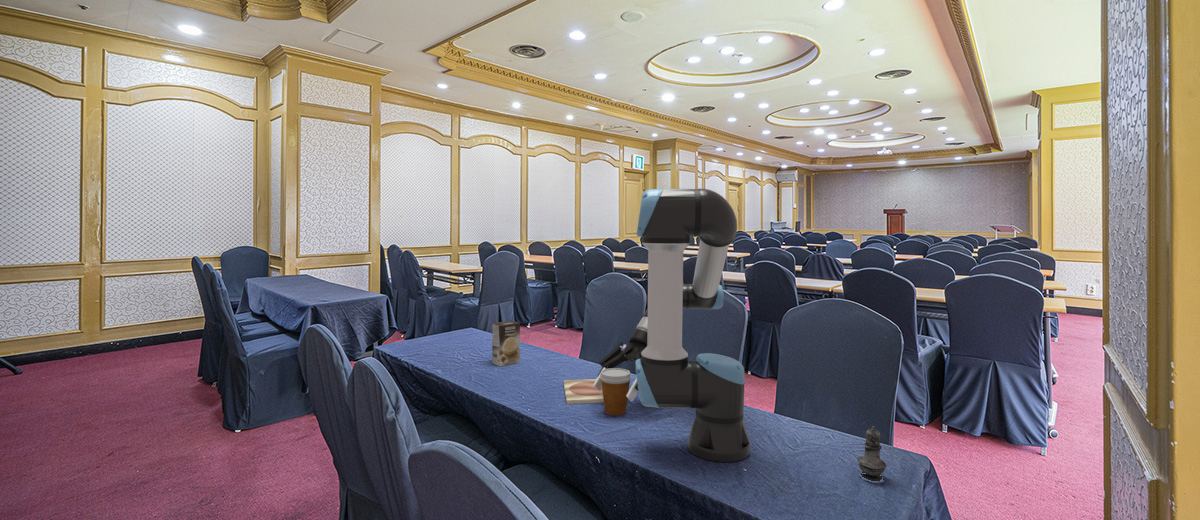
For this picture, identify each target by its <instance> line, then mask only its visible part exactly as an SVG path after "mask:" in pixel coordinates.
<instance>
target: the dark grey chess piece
mask: <svg viewBox="0 0 1200 520" xmlns="http://www.w3.org/2000/svg"><path fill="white" fill-rule="evenodd" d="M863 446H864V455H862V456H859V457H858V458H857V463H858V466H859V468H860V470H861V472H862V473H866V474H862V473H860V472H859V473H860V474H861V475H862V477H864V478H866V479H868V480H871V481H880V480H881V479H882V477H883V476H882V474H883V473H884V472H885V470H886V468H887V465H888V464H887V463H886V462H885V461H884V460H882V459H881V455H880V454H881V449H882V448H883V447H882V445H881V433H880V431H878V429H876V427H875V425H872V426H871V428H869V429H867V430H866V432H865V442H864V443H863ZM880 475H881V476H880Z"/></svg>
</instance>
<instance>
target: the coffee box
mask: <svg viewBox="0 0 1200 520" xmlns="http://www.w3.org/2000/svg"><path fill="white" fill-rule="evenodd" d="M491 330H492V339H491V340H492V343H491V344H492V348H491V349H492V352H491V353H492V355H491V356H492V358H491V361H492V365H494V366H495V365H496V366H497V367H505V366H510V365H516V364H519V362H520V363H521V322H518V321H515V320H514V321H513V320H508V321H500V322H499V321H498V322H492V329H491ZM515 363H516V364H515Z"/></svg>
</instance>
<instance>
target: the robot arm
mask: <svg viewBox="0 0 1200 520" xmlns="http://www.w3.org/2000/svg"><path fill="white" fill-rule="evenodd" d="M736 216H737V215H736V214H735V211H734V209H733V207H732V205H731V204H730V203H729V201H728V200H727V199H725V197H723V195H720V193H718V192H716V191H714V190H711V189H707V188H662V187H660V188H654V189H653V188H651V189H646V190H644V191H643V193H642V195H641V200H640V209H639V215H638V223H637V229H636V236H637V237H639V238H642V239H641V240H642V242H641V244H642V245H643V246H644V247H645V248H646V249H647V251H648V255H647V256H648V257H647V268H648V269H647V309H645V310H646V311H645V312H644V314H643V316H642V318H640V321H639V323H637V326H636V328H635V329H634V331H633V332H632V334H631V335H630V338H629V342H628V344H624V342H623V341H620V342H619V343H618V345H617V346H616V347H615V348H614V349H612V351H610V352H609V353H608V354H606V356H605V357H603V358H602V359H601V360H600V361H598V364H599V366H601V369H600V370H599V372H598V374H597V377H596V378H595V379H596V381H595V383H594V384H593V386H594V387H595V388H596V389H597V390H600V388H601V387H602V383H601V379H600V375H601V371H602V370H605V369H609V368H617V366H619V365H621V364H623V363H624V362H629V361H630V362H634V363H635V372H636V373H635V374H636V378H635V380H634V381H633V383H632V384H631V387H629V392H628V394H627V395H626V397H627V398H628V400H629V401H630V402H634V399H635V398H636V396H637V394H638V397H639V401H640V403H641V405H642V406H644V407H647V408H657V409H662V408H663V409H695V417H694V421H693V423H692V427H691V429H690V432H689V435H688V439H687V447H688V448H687V449H688V450H689V451H690V452H691V453H692V454H693V455H695V456H696V457H698V458H701V459H704V460H706V461H713V462H717V463H718V462H719V463H732V462H739V461H742V460H745V459H746V458H747V457H749V455H750V454H751V453H750V452H751V442H750V441H751V440H750V438H749V435H748V433H747V432H748V431H747V428H746V425H745V422H744V416H745V415H744V409H745V408H744V407H745V385H746V377H745V367H744V366H743V364H742V362H740V361H738V360H737V359H735V358H733V357H730V356H727V355H722V354H720V353H719V354H717V353H711V352H708V353H707V352H704V353H699V354H697V355H696V358H695V360H689V353H688V352H687V350H685V349H684V347H683V310H685V309H687V310H688V309H689V310H709V311H711V310H719V309H721V308H722V307H723V306H724V298H725V296H724V295H725V294H724V287H723V286H722V285H721V284H720V283H721V279H722V275H723V271H724V267H725V263H726V258H727V254H728V251H729V247H730V245H732V243H733V242H734V241H735V239H736V235H737V232H738V221H737V217H736ZM691 237H694V238H695V237H696V238H697V237H698V239H699V244H698V250H697V256H696V263H695V268H694V273H693V274H694V275H693V280H692V283H684V282H683V281H684V252H685V250H686V249H687V248H688V247H689V246H690V245H691V242H690V241H691Z"/></svg>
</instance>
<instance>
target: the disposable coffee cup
mask: <svg viewBox="0 0 1200 520" xmlns="http://www.w3.org/2000/svg"><path fill="white" fill-rule="evenodd" d="M600 379H601V383H602V391H603V400H604V403H603V406H604V413H605V414H607V415H610V416H621V415H625V414H626V412H627V406H628V400H629V399H628V398H627V397H626V395H627V394H628V392H629V390H630V385H631V383H630V382H631V379H632V374H631V371H630V370H628V369H625V368H621V367H614V368H609V369H605V370H602V371H601V375H600Z"/></svg>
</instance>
